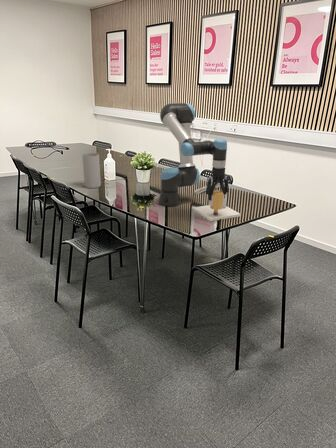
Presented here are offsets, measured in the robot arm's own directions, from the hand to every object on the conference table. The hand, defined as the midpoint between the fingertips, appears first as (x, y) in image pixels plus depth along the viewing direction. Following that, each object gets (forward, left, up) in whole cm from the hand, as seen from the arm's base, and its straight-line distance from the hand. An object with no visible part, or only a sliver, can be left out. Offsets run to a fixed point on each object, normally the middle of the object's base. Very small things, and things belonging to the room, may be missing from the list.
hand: (216, 204), depth 203 cm
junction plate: (-6, +4, -8) cm, 11 cm away
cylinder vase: (-95, -54, -8) cm, 110 cm away
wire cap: (0, 0, -2) cm, 2 cm away
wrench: (-50, +24, -8) cm, 56 cm away
